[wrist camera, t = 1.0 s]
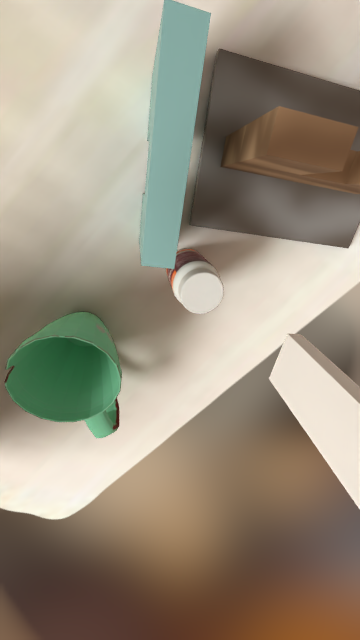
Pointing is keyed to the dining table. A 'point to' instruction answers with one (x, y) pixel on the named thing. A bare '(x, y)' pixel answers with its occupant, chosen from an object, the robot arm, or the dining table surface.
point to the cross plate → (171, 129)
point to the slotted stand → (279, 154)
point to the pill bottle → (195, 282)
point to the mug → (68, 373)
